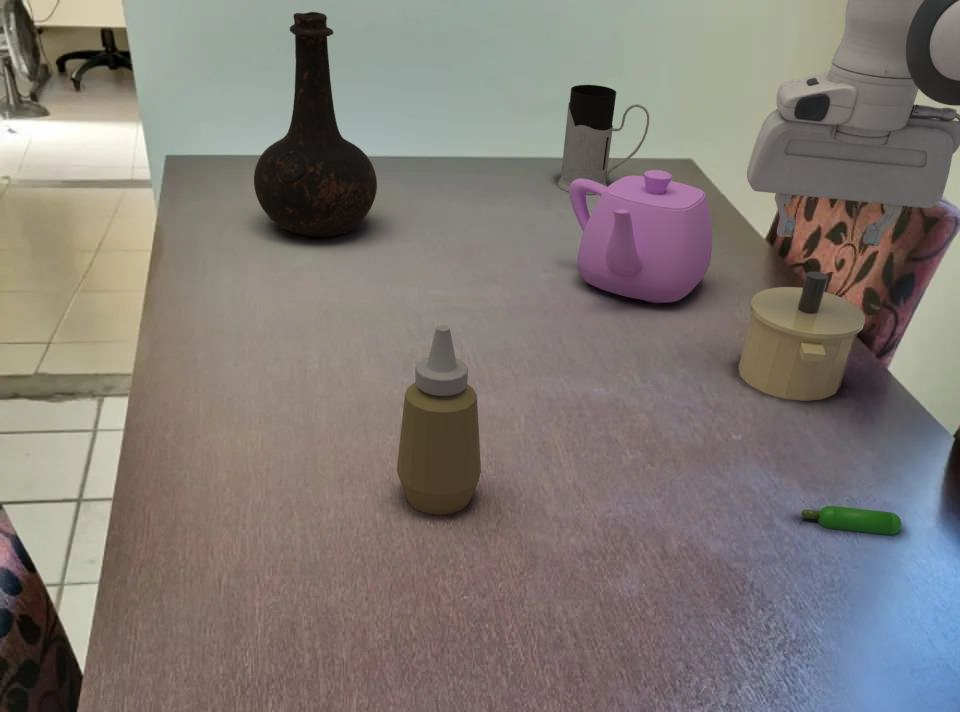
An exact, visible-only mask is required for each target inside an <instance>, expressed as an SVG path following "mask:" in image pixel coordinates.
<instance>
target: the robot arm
mask: <svg viewBox="0 0 960 712" xmlns="http://www.w3.org/2000/svg"><path fill="white" fill-rule="evenodd" d="M844 12H845V13H844V29H843V34H842V36H841V37H842V38H841V40H840V43H839V44H838V46H837V48H836V50H835V52H834V54H833V57H832V60H831V64H830V68H829V70H827V71H824V72H821V73H817V74H813V75H810V76H804V77H800V78H796V79H792V80H787V81H785V82H783V83H781V84H780V85H779V87H778V89H777V93H776V99H775V102H776V103H775V104H776V109H774V110H773V111H771V112H770V113H769V114H768V115H767V116H766V117H765V119H764V121H762V122H763V123H762V124H761V127H760V129H759V131H758V134H757V137H756V139H755V142H754V144H753V148H752V151H751V154H750V158H749V162H748V165H747V170H746V177H747V178H746V179H747V182H748V184H749V186H750V187H751V189H752V190H753V191H754V192H757V193H769V194H774V201H775V204H776V208H777V212H778V214H779V220H778V224H777V228H776V235H777V237H782V238H784V237H785V238H792V236H793V234H794V232H793V230H794V229H795V228H796V227H795V226H796V220H795V216H793V215H792V216H790V215H788V214H787V211H786V207H785V205H786V206H789V205H790V204H791V201H792V198H793V196H799V197H808V198H809V197H810V198H820V199H831V200H841V201H851V202H860V203H869V204H870V203H871V204H881V205H883V206H882V208H883V210H884V213H883V214H882V215H881V216H880V218H879V219H878V220H877V221H876V222H875V223H874V224H872V223H871V224H870V223H867V224H866V226H865V229H864V230H865V231H864V232H865V233H864V234H863V235H862V243H863V245H864V246H872V247H878V246H879V245H880V243H881V241H882V240H881V239H882V237H883V234H884V231H886V230H887V229H888V228H889V227H890V226H891V225H892V224H893V223H894V222H895V221H897V219H898V218H900V215H901V213H902V211H903V207H909V208H911V207H912V208H920V209H921V208H923V209H932V208H933V207H934V206H935V205H937V203H939V202H940V201H941V200H942V199H943V195H944V193H945V190H946V185H947V182H948V179H949V176H950V175H949V174H950V170H951V166H952V162H953V161H952V160H953V155H954V154H955V153H956V152H957V150H959V147H960V114H959V113H958V111H957V109H955V108H952V107H953V106H954V107H955V106H957V107H958V106H960V0H847V3H846V7H845V11H844ZM919 91H920V92H921V93H922V94H923V95H924V96H926V97H927V98H929V99H930V100H931V101H934V102H937V103H939V104H942V105H946V106H952V107H936V106H935V107H933V106H930V105H922V104H915V102H916V98H917V96H918V95H917V94H918V93H919ZM955 119H956V120H955Z"/></svg>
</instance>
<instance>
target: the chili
mask: <svg viewBox="0 0 960 712" xmlns="http://www.w3.org/2000/svg"><path fill="white" fill-rule="evenodd" d="M800 514H801V517H802V518H804V519H812V520H816V522H817V524H818V525H820V526H821V527H823V528H826V529H830V530H838V531H839V530H840V531H848V532H856V533H868V534H876V535H884V536H894V535H897V534H898V533H899V532H900V530H901V528H902V520H901V518H900V516H899V515H898V514H896V513H894V512H891V511H884V510H883V511H882V510H874V509H864V508H855V507H846V506H836V505H827V506H824V507H822V508H821V509H820V510H814V509H813V510H812V509H803V510H802V511H801V513H800Z"/></svg>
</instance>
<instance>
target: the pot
mask: <svg viewBox="0 0 960 712" xmlns="http://www.w3.org/2000/svg"><path fill="white" fill-rule="evenodd" d="M857 335H858V333H857V334H855V335H852V336H849V337H845V338H839V339H814V338H806V337H801V336H796V335H792V334H788V333H785V332H782V331H779V330H776V329H774V328H772V327H770V326H768V325H766V324H764V323H763V322H761V321H760V320H758V319H757V318H756V317H755V316H754V315H753V313H752V312H751V314H750V319H749V323H748V326H747V331H746V335H745V338H744V343H743V347H742V350H741V355H740V359H739V363H738V372H739V376H740V377H741V379H742V380H743V381H745V382H746V383H747V385H748V386H751V387H752V388H754V389H755V390H758V391H760V392H761V393H763V394H767V395H769V396H773V397H776V398H781V399H784V400H793V401H802V402H803V401H804V402H809V401H818V400H824V399H826V398H829V397H832V396H833V395H836V394H837V392H838V390H839V389H840V387H841V385H842V381H843V379H844V375H845V371H846V369H847V367H848V363H849V360H850V357H851V354H852V351H853V349H854V345H855V342H856V339H857Z"/></svg>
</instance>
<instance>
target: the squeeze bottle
mask: <svg viewBox="0 0 960 712" xmlns="http://www.w3.org/2000/svg"><path fill="white" fill-rule="evenodd" d="M433 335H434V336H433V339H432V343H431V347H430V351H429V355H428V357H425V358H422V359H420V360H419V361H418V362H417V363H416V366H415V367H414V368H415V369H414V371H415V373H414V376H415V380H414V381H415V382H413V383H412V384H410V385H409V386H408V387H407V388H406V391H405V393H404V398H403V399H404V400H403V409H402V416H401V417H402V418H401V427H400V437H399V445H398V454H397V455H398V456H397V462H396V463H397V464H396V473H397V476H398V479H399V482H400V483H401V486H402V489H403V491H404V495H405V497H406V499H407V503H408V504H409V505H410V506H411V507H412V508H414V509H415V510H417V511H419V512H422V513H424V514H426V515H427V514H428V515H434V516H435V515H436V516H443V515H453V514H454V513H457V512H460V511H462V510H463V509H464V508H466V507H467V506H468V505H469V503H470V501H471V498H472V496H473V494H474V492H475V490H476V487H477V485H478V483H479V481H480V477H481V474H482V464H481V463H482V461H481V447H480V427H479V426H480V425H479V408H478V407H479V406H478V395H477V393H476V391H475V389H474V387H472V386H471V385H470V384H469V383H468V381H469V380H468V378H469V377H468V376H469V368H468V366H467V364H466V363H465V362H464V361H462V360H460V359H459V358H456V354H455V350H454V344H453V338H452V333H451V328H450V326H448V325H446V324H439V325H437V326H435V331H434V334H433Z"/></svg>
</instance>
